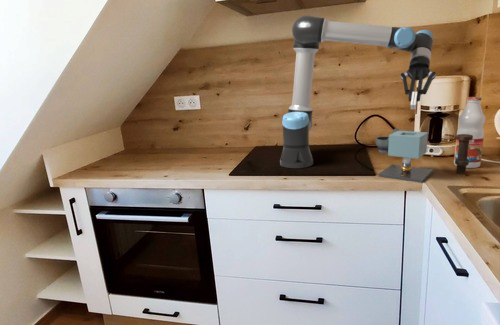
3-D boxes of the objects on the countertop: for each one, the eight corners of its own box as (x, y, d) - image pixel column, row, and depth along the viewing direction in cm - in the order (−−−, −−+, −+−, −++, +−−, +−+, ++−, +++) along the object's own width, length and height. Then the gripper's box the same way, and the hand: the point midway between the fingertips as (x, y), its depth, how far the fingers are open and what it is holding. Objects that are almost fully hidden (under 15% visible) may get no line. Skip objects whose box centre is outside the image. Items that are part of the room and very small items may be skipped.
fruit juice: (480, 163, 145) (488, 96, 138) (480, 169, 138) (488, 98, 131) (454, 161, 150) (460, 96, 143) (452, 167, 143) (459, 98, 136)
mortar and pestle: (373, 153, 172) (374, 129, 169) (376, 149, 180) (377, 126, 177) (397, 154, 167) (399, 130, 164) (399, 150, 175) (401, 127, 172)
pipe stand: (378, 176, 136) (379, 151, 134) (392, 166, 148) (393, 143, 145) (422, 182, 126) (424, 156, 124) (433, 171, 138) (435, 147, 135)
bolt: (454, 170, 138) (458, 133, 134) (469, 172, 135) (473, 134, 131) (451, 174, 134) (455, 136, 130) (466, 176, 131) (471, 137, 127)
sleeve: (388, 155, 134) (388, 135, 132) (397, 149, 143) (398, 130, 140) (418, 158, 128) (419, 137, 125) (426, 152, 136) (427, 132, 134)
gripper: (437, 67, 142) (432, 113, 133) (402, 69, 149) (395, 112, 139) (438, 53, 137) (432, 100, 127) (402, 56, 143) (393, 100, 134)
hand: (413, 107), depth 133 cm, fingers closed
